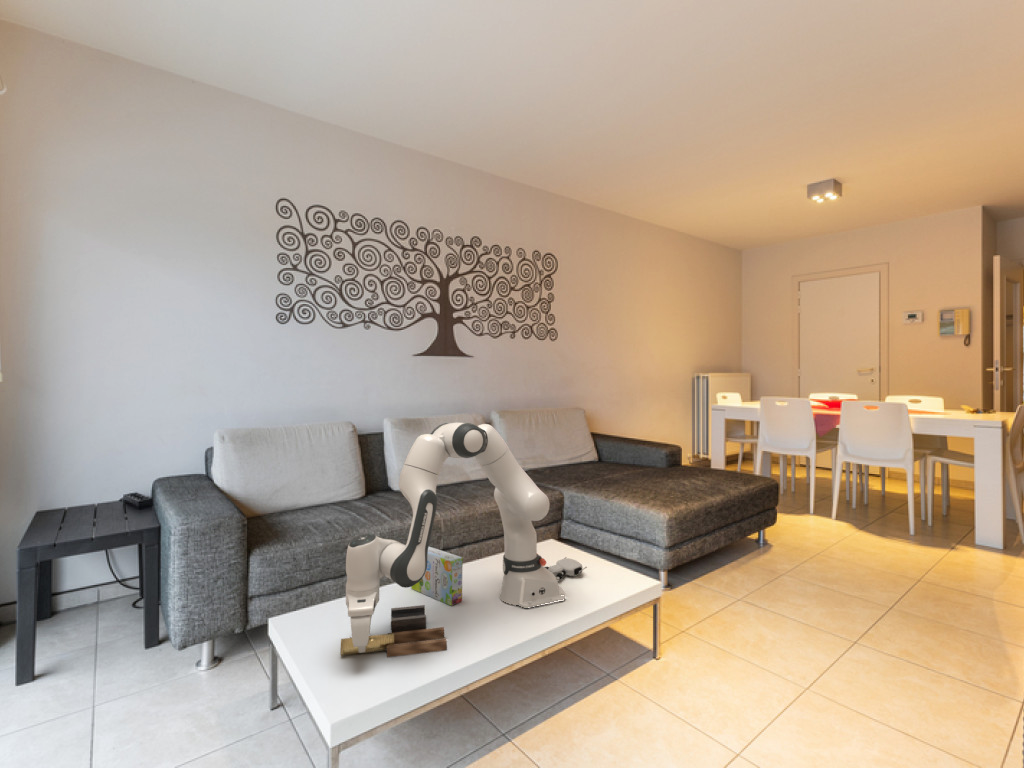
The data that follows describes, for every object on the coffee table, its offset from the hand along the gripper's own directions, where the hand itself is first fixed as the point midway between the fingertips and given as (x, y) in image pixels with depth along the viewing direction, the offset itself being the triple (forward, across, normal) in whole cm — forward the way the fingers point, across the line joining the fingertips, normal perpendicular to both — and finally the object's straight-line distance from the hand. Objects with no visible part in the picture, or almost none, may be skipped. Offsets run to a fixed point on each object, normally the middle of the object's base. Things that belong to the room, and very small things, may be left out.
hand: (362, 645), depth 139 cm
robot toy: (+2, -38, +71) cm, 81 cm away
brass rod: (+2, 0, +1) cm, 2 cm away
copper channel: (+2, 0, +14) cm, 15 cm away
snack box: (+2, -32, +23) cm, 39 cm away
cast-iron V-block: (+2, -10, +13) cm, 16 cm away
